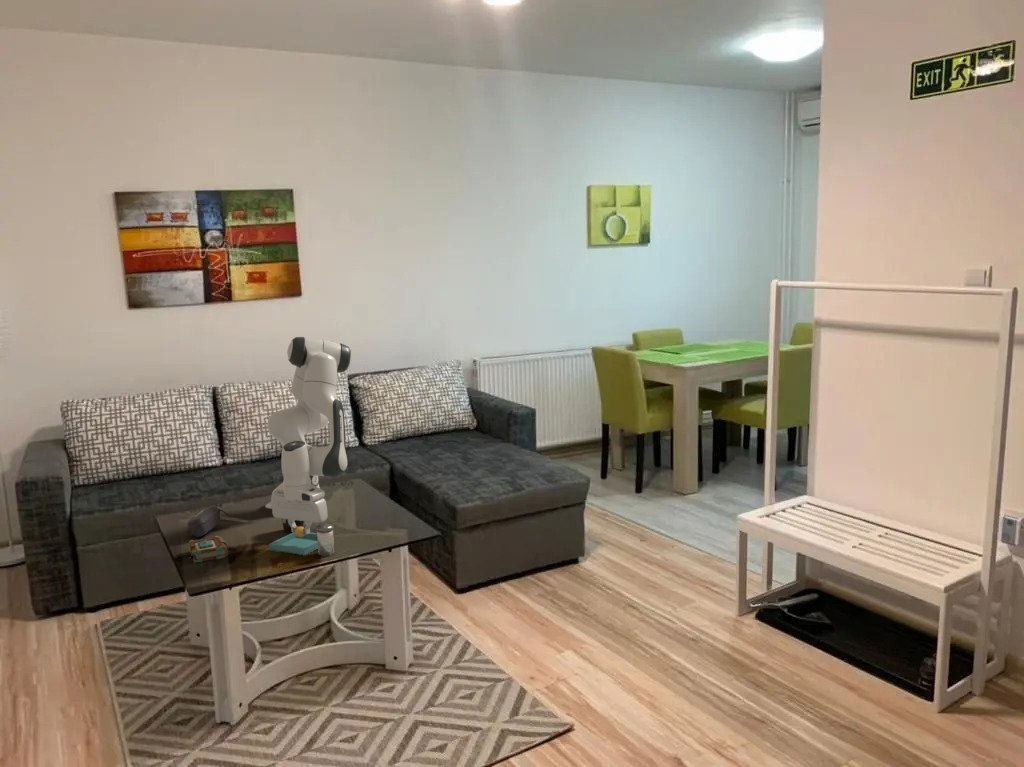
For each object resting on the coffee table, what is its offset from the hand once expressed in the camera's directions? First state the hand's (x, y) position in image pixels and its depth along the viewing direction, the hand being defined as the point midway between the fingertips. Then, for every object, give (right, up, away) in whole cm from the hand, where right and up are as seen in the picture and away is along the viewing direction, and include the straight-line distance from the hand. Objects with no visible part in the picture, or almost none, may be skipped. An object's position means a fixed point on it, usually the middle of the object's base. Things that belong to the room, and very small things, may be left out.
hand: (300, 532), depth 268 cm
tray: (0, -5, +1) cm, 5 cm away
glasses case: (-38, -4, +19) cm, 42 cm away
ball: (0, -2, 0) cm, 2 cm away
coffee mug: (-6, -3, +16) cm, 17 cm away
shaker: (+10, -6, -6) cm, 13 cm away
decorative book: (-31, -7, -2) cm, 32 cm away
